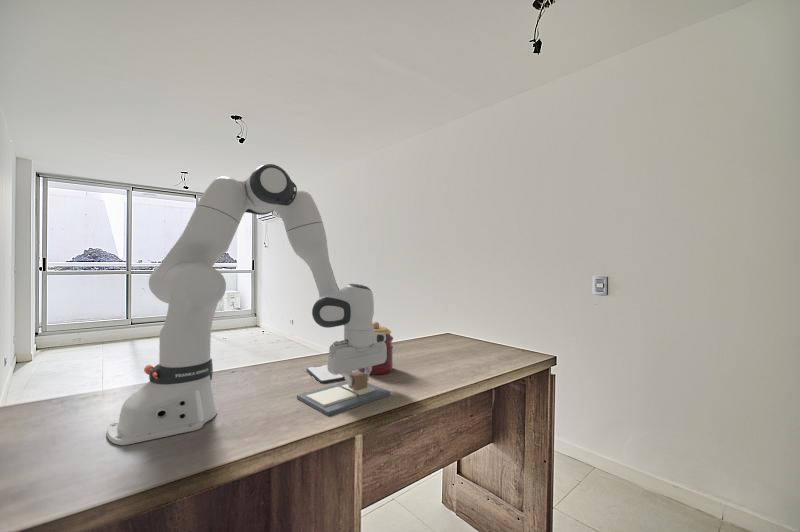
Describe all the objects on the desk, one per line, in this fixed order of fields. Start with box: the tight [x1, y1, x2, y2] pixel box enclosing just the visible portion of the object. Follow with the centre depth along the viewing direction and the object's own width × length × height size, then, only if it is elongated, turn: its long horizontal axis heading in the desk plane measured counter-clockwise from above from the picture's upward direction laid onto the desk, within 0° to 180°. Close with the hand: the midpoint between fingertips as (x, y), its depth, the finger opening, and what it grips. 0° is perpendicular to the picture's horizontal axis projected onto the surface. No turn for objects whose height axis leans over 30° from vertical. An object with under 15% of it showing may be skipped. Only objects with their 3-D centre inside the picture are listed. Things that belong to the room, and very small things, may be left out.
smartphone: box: [305, 364, 346, 384], centre depth 129 cm, size 9×2×16 cm
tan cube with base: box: [341, 371, 375, 395], centre depth 112 cm, size 6×9×4 cm, turn 45°
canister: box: [357, 321, 394, 376], centre depth 136 cm, size 13×13×18 cm
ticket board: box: [296, 381, 391, 417], centre depth 109 cm, size 22×16×2 cm
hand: (358, 383), depth 112 cm, fingers closed on tan cube with base, 4 cm apart
